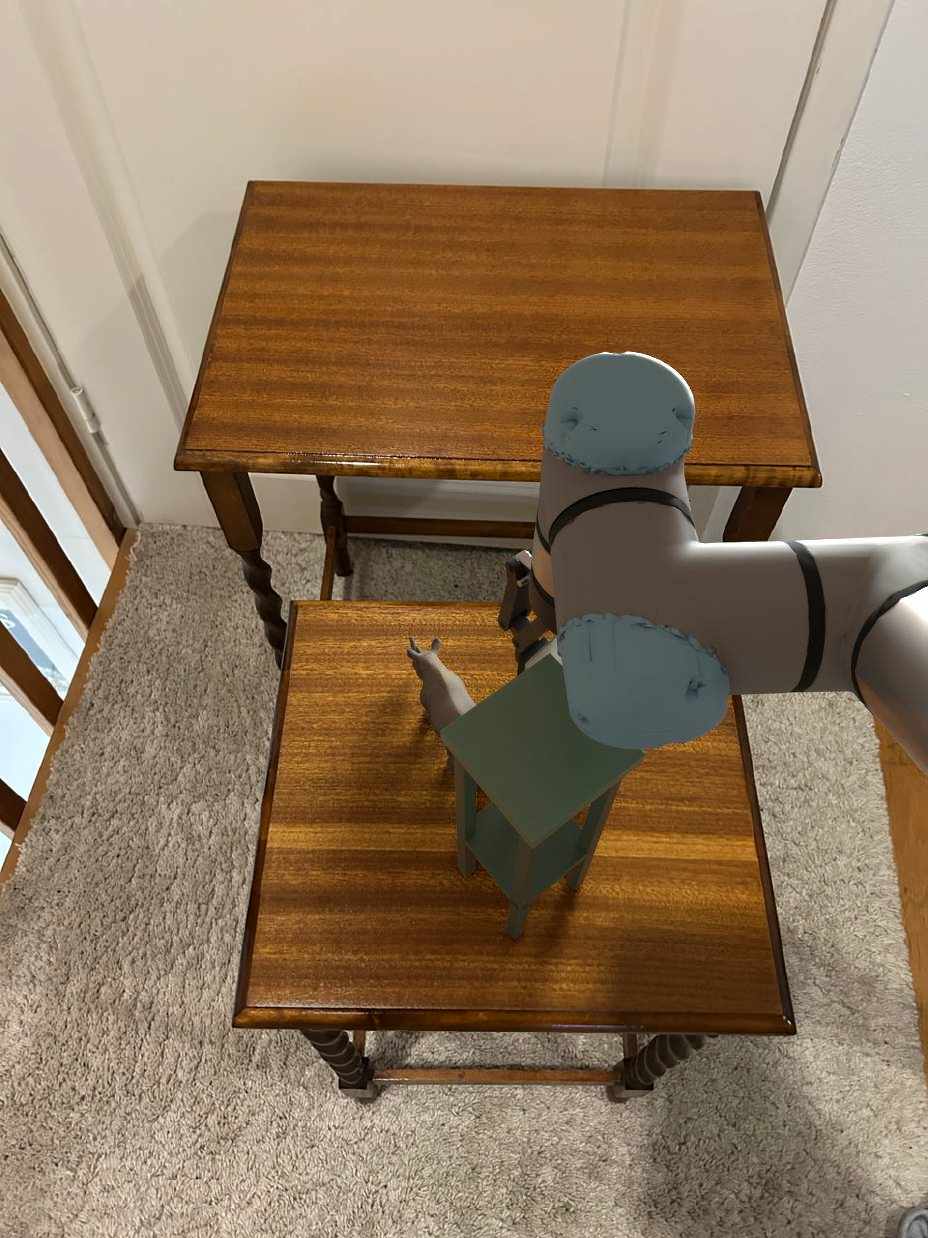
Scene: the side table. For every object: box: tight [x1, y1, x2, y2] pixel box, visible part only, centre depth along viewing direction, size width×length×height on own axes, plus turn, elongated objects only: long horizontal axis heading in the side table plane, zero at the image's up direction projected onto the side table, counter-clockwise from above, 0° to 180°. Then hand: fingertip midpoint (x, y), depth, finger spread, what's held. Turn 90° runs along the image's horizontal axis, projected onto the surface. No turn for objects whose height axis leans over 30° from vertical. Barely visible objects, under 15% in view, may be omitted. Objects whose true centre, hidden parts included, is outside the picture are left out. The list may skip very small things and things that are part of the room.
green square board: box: [440, 653, 646, 849], centre depth 52 cm, size 8×8×1 cm
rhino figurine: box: [406, 635, 477, 774], centre depth 78 cm, size 4×14×6 cm, turn 25°
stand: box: [453, 756, 624, 941], centre depth 62 cm, size 7×7×25 cm
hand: (560, 717), depth 79 cm, fingers open, 7 cm apart
